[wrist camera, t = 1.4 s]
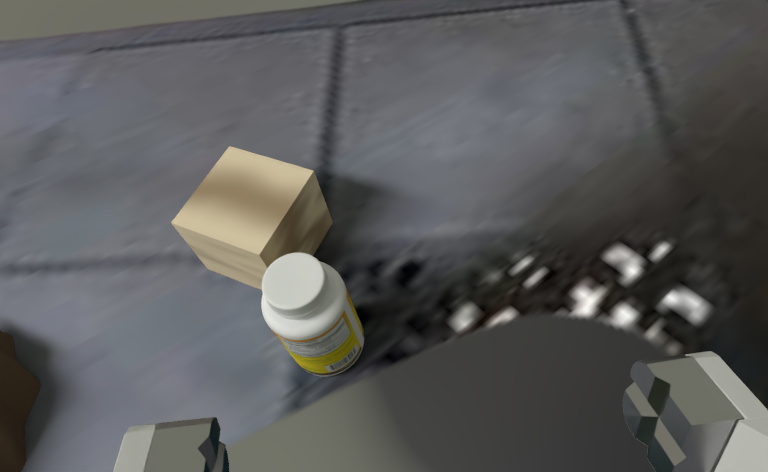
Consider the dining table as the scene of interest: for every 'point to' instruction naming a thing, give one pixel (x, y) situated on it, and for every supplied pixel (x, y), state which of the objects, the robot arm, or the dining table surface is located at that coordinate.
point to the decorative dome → (14, 405)
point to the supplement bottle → (312, 314)
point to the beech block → (253, 215)
